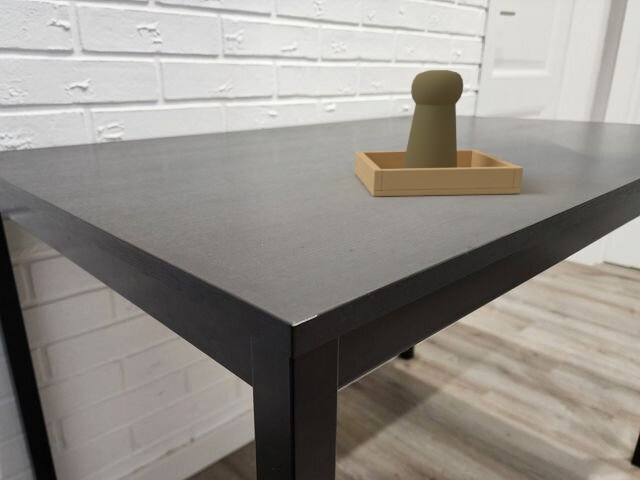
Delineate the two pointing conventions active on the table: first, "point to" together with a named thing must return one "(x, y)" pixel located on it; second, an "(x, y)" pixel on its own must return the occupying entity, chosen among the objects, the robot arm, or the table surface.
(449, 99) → the olive pawn
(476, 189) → the tray
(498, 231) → the table surface
